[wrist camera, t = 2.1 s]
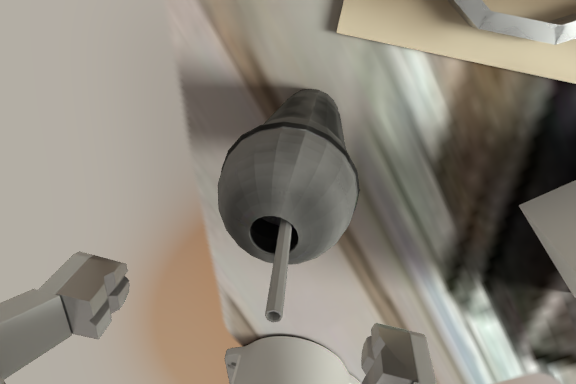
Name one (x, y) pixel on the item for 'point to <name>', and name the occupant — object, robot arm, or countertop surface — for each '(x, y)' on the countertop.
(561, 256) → the milk
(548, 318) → the countertop surface
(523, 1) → the ring seat
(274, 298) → the beverage cup
